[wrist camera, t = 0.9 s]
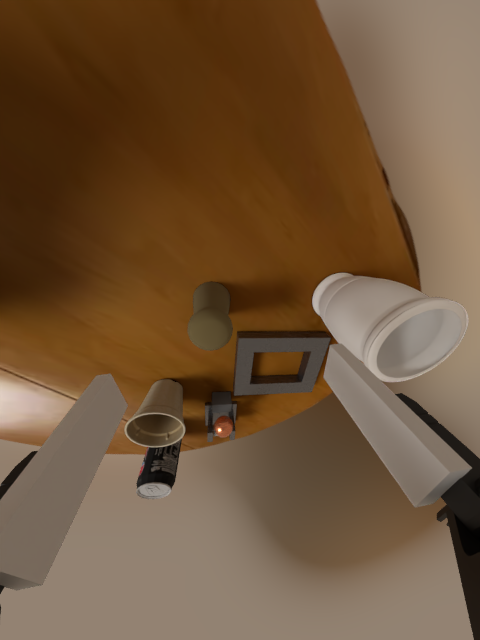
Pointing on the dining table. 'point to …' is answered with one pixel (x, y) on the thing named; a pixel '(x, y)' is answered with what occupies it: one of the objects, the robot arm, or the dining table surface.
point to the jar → (390, 324)
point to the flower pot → (158, 416)
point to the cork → (210, 317)
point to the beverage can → (158, 471)
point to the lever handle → (223, 426)
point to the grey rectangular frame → (278, 342)
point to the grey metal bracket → (212, 417)
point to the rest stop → (221, 402)
